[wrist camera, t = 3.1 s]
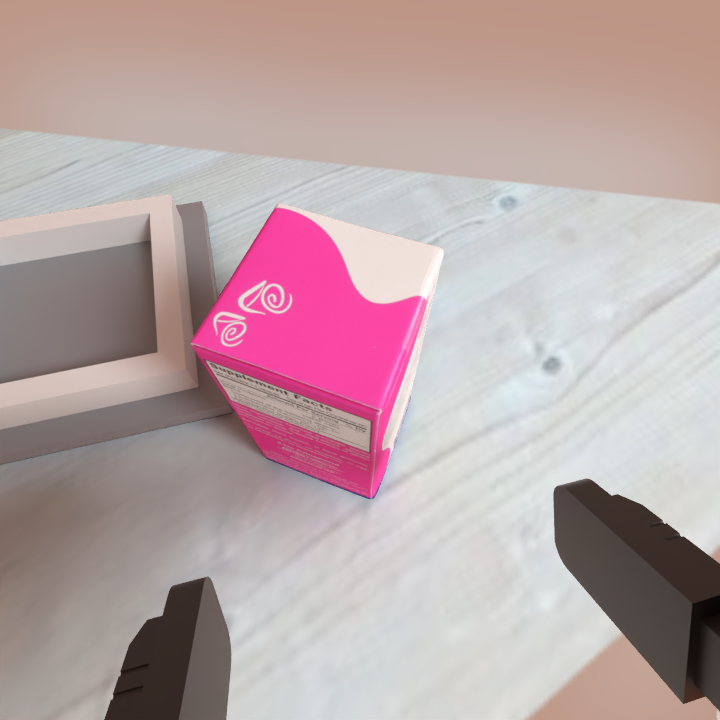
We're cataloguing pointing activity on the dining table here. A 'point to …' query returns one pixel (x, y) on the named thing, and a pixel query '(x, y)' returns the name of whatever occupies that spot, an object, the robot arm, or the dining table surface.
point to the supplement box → (322, 343)
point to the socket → (103, 324)
